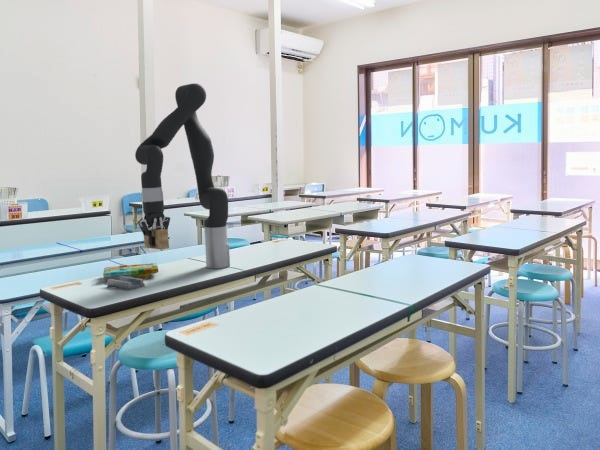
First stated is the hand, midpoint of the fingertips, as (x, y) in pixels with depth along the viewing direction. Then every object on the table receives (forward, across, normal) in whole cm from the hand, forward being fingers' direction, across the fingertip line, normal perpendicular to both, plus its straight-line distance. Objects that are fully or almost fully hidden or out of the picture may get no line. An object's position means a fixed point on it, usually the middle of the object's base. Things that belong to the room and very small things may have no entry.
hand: (156, 245), depth 191 cm
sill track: (+13, +12, -4) cm, 18 cm away
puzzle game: (+14, +1, -15) cm, 21 cm away
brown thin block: (+1, 0, 0) cm, 1 cm away
